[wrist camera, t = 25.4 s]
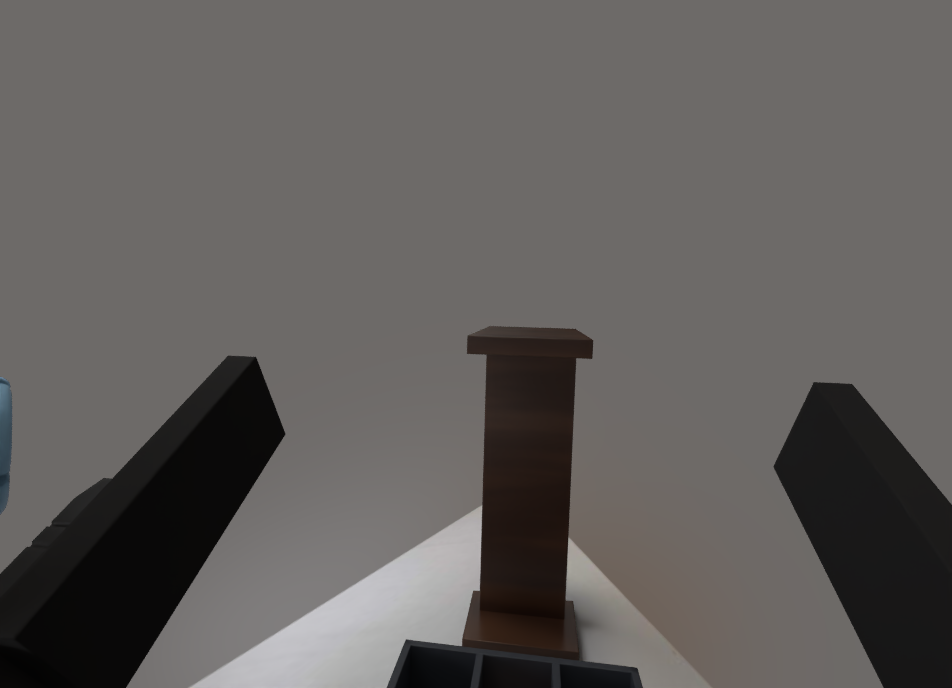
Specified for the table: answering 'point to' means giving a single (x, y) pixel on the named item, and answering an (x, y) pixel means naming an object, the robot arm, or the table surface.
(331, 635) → the table surface
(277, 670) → the table surface
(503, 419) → the shelf stand
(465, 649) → the slot rack
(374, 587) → the table surface
